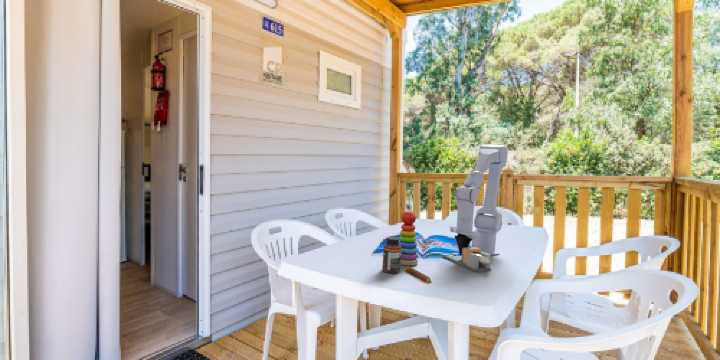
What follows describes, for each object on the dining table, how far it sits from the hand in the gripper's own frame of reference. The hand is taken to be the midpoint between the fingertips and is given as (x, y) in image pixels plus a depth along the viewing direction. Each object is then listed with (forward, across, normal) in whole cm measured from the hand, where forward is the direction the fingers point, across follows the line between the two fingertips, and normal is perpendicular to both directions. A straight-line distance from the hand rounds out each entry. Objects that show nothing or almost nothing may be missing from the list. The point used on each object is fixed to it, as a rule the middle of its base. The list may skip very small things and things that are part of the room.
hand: (462, 254), depth 146 cm
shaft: (+1, +7, 0) cm, 7 cm away
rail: (+3, +2, 0) cm, 3 cm away
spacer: (+2, +5, 0) cm, 6 cm away
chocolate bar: (+3, +10, -26) cm, 28 cm away
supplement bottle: (+3, +4, -32) cm, 32 cm away
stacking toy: (+3, -4, -22) cm, 22 cm away
